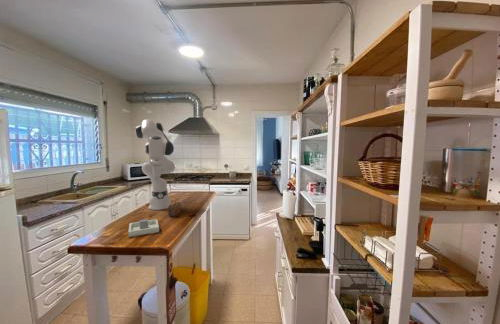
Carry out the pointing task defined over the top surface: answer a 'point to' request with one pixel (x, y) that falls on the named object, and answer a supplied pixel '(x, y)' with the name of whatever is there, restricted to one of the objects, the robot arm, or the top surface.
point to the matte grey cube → (144, 224)
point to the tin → (174, 209)
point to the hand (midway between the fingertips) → (156, 181)
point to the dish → (136, 231)
